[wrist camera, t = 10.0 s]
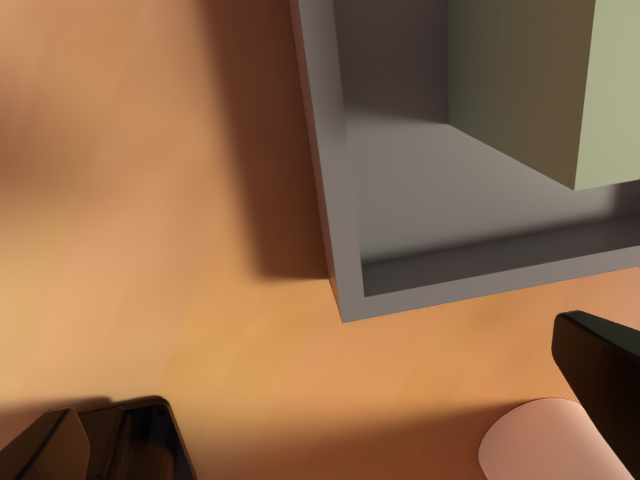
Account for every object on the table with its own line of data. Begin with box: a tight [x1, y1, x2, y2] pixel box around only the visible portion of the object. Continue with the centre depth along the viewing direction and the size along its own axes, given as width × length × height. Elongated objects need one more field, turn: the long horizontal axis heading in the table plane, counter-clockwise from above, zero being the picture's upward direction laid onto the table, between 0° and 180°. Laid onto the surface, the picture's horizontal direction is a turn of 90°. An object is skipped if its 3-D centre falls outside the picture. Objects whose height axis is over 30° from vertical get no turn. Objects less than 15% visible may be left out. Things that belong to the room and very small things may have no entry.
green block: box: [447, 0, 640, 191], centre depth 14 cm, size 5×5×8 cm
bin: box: [289, 0, 640, 323], centre depth 17 cm, size 18×16×4 cm
